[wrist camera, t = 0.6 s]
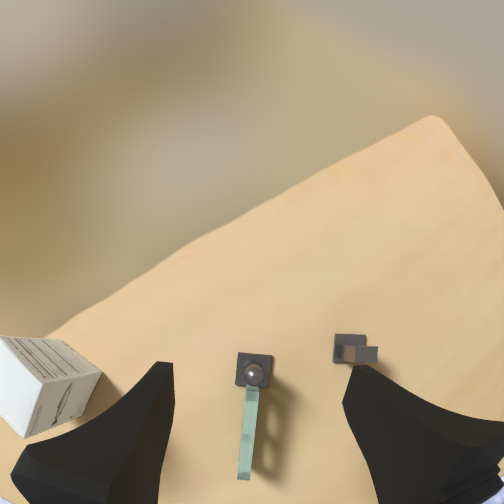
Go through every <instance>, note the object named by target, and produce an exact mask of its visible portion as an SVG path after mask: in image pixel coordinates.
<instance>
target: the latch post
mask: <svg viewBox="0 0 504 504" xmlns="http://www.w3.org/2000/svg"><path fill="white" fill-rule="evenodd" d="M377 352H378V347H376V346H365V335H355V334H335V339H334V351H333V361H332V362H353V363H377Z"/></svg>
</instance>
